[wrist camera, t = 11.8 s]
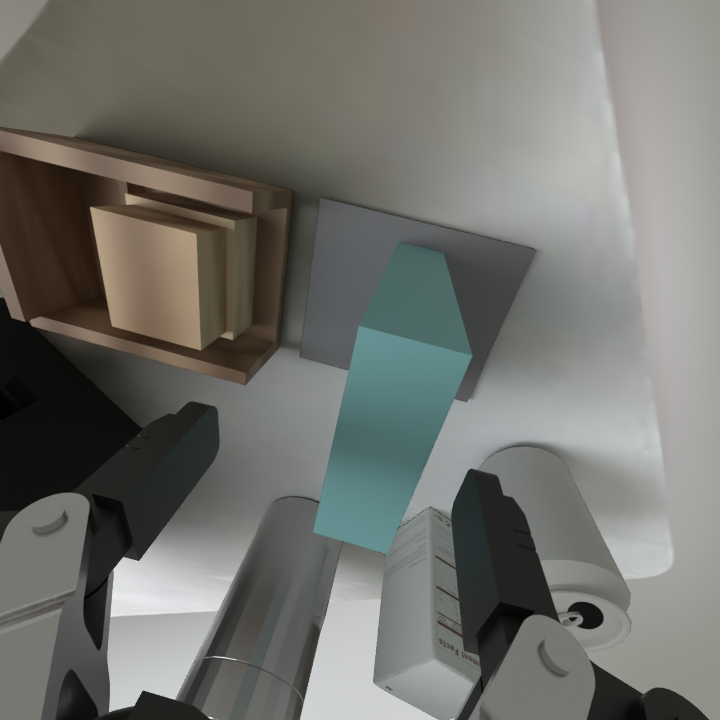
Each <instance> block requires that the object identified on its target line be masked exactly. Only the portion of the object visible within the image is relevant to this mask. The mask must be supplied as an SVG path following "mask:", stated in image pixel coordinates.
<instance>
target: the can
mask: <svg viewBox="0 0 720 720" xmlns="http://www.w3.org/2000/svg"><path fill="white" fill-rule="evenodd" d="M479 471H483V472H487V473H491V474H496V475H497V476H498V478H499V480H500V484H501V488H502V491H503V495H505V496H509V497H513V498H514V500H515V501H516V502H517V504H518V505H519V507H520V508H521V510H522V511H523V512H524V514H525V516H526V519H527V522H528V525H529V528H530V531H531V537H533V540H534V544H535V547H536V553H538V556H539V559H540V562H541V565H542V568H543V571H544V574H545V578H546V581H547V584H548V587H549V590H550V593H551V596H552V599H553V602H554V605H555V609H556V612H557V615H558V617H559V620H560V622H561V624H562V625H563V626H564V627H565V628H567V629H568V630H569V631H570V632H571V633H572V634H573V635H574V637H575V638H576V639H577V640H578V641H579V643H580V644H581V646H582V647H583V649H584V650H585V652H596V651H600V650H604V649H608V648H611V647H613V646H615V645H617V644H619V643H621V642H622V641H623V640H624V639H625V638H626V637H627V636H628V634H629V633H630V631H631V620H630V618H629V616H628V615H627V613H626V611H627V609H628V607H629V605H630V595H631V593H630V591H629V589H628V587H627V585H626V583H625V581H624V579H623V577H622V575H621V573H620V571H619V569H618V567H617V565H616V563H615V561H614V559H613V557H612V555H611V553H610V551H609V549H608V547H607V545H606V543H605V541H604V539H603V537H602V535H601V534H600V532H599V530H598V528H597V526H596V524H595V522H594V520H593V518H592V516H591V514H590V512H589V510H588V508H587V506H586V504H585V502H584V500H583V498H582V496H581V494H580V492H579V490H578V488H577V486H576V484H575V482H574V480H573V478H572V476H571V474H570V472H569V470H568V468H567V466H566V464H565V463H564V461H562V460H561V459H560V458H559V457H557V456H556V455H555V454H553V453H551V452H548V451H546V450H543V449H540V448H533V447H512V448H508V449H505V450H502V451H500V452H497V453H495V454H494V455H492V456H491V457H489V458H487V459H486V460H485V461H484V463H483V464H482V465H481V466H480V468H479Z"/></svg>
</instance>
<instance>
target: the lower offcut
mask: <svg viewBox="0 0 720 720" xmlns="http://www.w3.org/2000/svg"><path fill="white" fill-rule="evenodd" d="M125 199H126V205H130V204H134V205H138V206H142V207H146V208H150V209H154V210H158V211H162V212H166V213H170V214H174V215H178V216H182V217H186V218H190V219H194V220H198V221H202V222H206V223H210V224H214V225H218V226H222V227H226V228H227V268H226V333H224V334H223V335H221V336H220V337H223V338H227V339H231V340H234V339H235V338H236V337H237V336H239V335H240V334H241V333H242V332H244V331H245V330H246V329H247V328H249V327H250V326H251V325H252V319H253V297H254V275H255V254H256V232H257V217H256V216H252V215H248V214H244V213H240V212H236V211H232V210H228V209H224V208H220V207H216V206H212V205H208V204H204V203H200V202H196V201H192V200H188V199H184V198H180V197H176V196H172V195H168V194H163V193H125Z"/></svg>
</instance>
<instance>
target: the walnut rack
mask: <svg viewBox="0 0 720 720" xmlns="http://www.w3.org/2000/svg"><path fill="white" fill-rule="evenodd" d="M125 193H163V194H168V195H172V196H176V197H180V198H184V199H188V200H192V201H196V202H200V203H204V204H208V205H212V206H216V207H220V208H224V209H228V210H232V211H236V212H240V213H244V214H248V215H252V216H256V217H257V232H256V254H255V275H254V297H253V319H252V325H251V326H250V327H249V328H247V329H246V330H245V331H244V332H242V333H241V334H240V335H239V336H237V337H236V338H235V339H234V340H231V339H227V338H223V337H219V338H217V339H216V340H215V341H213V342H212V343H211V344H209V345H208V346H206V347H205V348H204V349H202V350H197V349H194V348H190V347H186V346H183V345H179V344H175V343H172V342H168V341H164V340H161V339H157V338H153V337H150V336H146V335H142V334H139V333H135V332H131V331H128V330H124V329H121V328H117V327H113V326H112V324H111V319H110V313H109V308H108V302H107V297H106V292H105V286H104V281H103V275H102V270H101V264H100V259H99V254H98V248H97V243H96V237H95V232H94V226H93V221H92V216H91V210H90V207H98V206H114V205H126V199H125ZM293 195H294V190H289V189H285V188H281V187H277V186H273V185H269V184H265V183H260V182H256V181H252V180H248V179H244V178H240V177H236V176H232V175H227V174H223V173H219V172H215V171H211V170H207V169H203V168H198V167H194V166H190V165H186V164H182V163H178V162H174V161H170V160H165V159H161V158H157V157H153V156H149V155H145V154H141V153H136V152H132V151H128V150H124V149H120V148H116V147H112V146H108V145H103V144H99V143H95V142H91V141H87V140H83V139H79V138H74V137H69V136H62V135H55V134H47V133H40V132H33V131H26V130H19V129H12V128H5V127H0V286H1V289H2V292H3V294H4V297H5V300H6V303H7V306H8V309H9V312H10V315H11V318H14V319H17V320H21V321H24V322H26V321H29V320H30V323H31V326H34V327H37V328H41V329H44V330H48V331H52V332H55V333H59V334H62V335H66V336H70V337H73V338H77V339H80V340H84V341H88V342H91V343H95V344H98V345H102V346H106V347H109V348H113V349H116V350H120V351H124V352H127V353H131V354H134V355H138V356H142V357H145V358H149V359H152V360H156V361H160V362H163V363H167V364H171V365H174V366H178V367H181V368H185V369H189V370H192V371H196V372H199V373H203V374H207V375H210V376H214V377H217V378H221V379H225V380H228V381H232V382H235V383H239V384H243V385H246V384H247V383H248V382H249V381H250V380H251V378H252V377H253V376H254V375H255V374H256V373H257V372H258V371H259V370H260V368H261V367H262V366H263V365H264V364H265V363H266V362H267V361H268V360H269V358H270V357H271V356H272V355H273V354H274V353H275V352H276V351H277V350H278V349H279V345H280V334H281V323H282V313H283V302H284V291H285V281H286V270H287V259H288V249H289V238H290V227H291V217H292V206H293Z"/></svg>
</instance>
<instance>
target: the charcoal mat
mask: <svg viewBox="0 0 720 720" xmlns="http://www.w3.org/2000/svg"><path fill="white" fill-rule="evenodd" d="M398 242H402V243H406V244H411V245H415V246H419V247H423V248H427V249H431V250H435V251H439V252H443V253H444V256H445V260H446V264H447V267H448V271H449V274H450V278H451V281H452V285H453V288H454V292H455V295H456V299H457V303H458V306H459V310H460V313H461V317H462V320H463V324H464V327H465V331H466V335H467V338H468V342H469V345H470V349H471V352H472V358H471V360H470V363H469V365H468V367H467V370H466V372H465V374H464V377H463V379H462V381H461V384H460V386H459V388H458V391H457V393H456V395H455V397H454V399H457V400H460V401H464V402H467V401H468V399H469V397H470V395H471V392H472V390H473V388H474V386H475V384H476V381H477V379H478V377H479V375H480V373H481V370H482V368H483V366H484V364H485V362H486V359H487V357H488V355H489V353H490V351H491V348H492V346H493V344H494V342H495V340H496V337H497V335H498V333H499V331H500V329H501V327H502V324H503V322H504V320H505V318H506V316H507V313H508V311H509V309H510V307H511V305H512V302H513V300H514V298H515V296H516V294H517V291H518V289H519V287H520V285H521V283H522V280H523V278H524V276H525V274H526V272H527V269H528V267H529V265H530V263H531V261H532V258H533V256H534V254H535V252H536V250H535V249H533V248H529V247H525V246H521V245H517V244H513V243H508V242H504V241H500V240H496V239H492V238H488V237H484V236H479V235H475V234H471V233H467V232H463V231H459V230H455V229H451V228H446V227H442V226H438V225H434V224H430V223H426V222H422V221H417V220H413V219H409V218H405V217H401V216H397V215H393V214H389V213H384V212H380V211H376V210H372V209H368V208H364V207H360V206H355V205H351V204H347V203H343V202H339V201H335V200H331V199H327V198H320V204H319V212H318V220H317V227H316V235H315V243H314V250H313V258H312V266H311V273H310V281H309V289H308V296H307V304H306V312H305V319H304V327H303V335H302V342H301V350H300V357H301V358H305V359H309V360H312V361H316V362H320V363H323V364H327V365H331V366H334V367H338V368H342V369H346V370H349V368H350V364H351V359H352V355H353V350H354V346H355V341H356V337H357V332H358V328H359V325H360V323H361V320H362V318H363V316H364V314H365V312H366V310H367V308H368V306H369V303H370V301H371V299H372V297H373V295H374V293H375V291H376V289H377V287H378V284H379V282H380V280H381V278H382V276H383V274H384V272H385V270H386V268H387V265H388V263H389V261H390V259H391V257H392V255H393V253H394V251H395V248H396V246H397V244H398Z"/></svg>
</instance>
